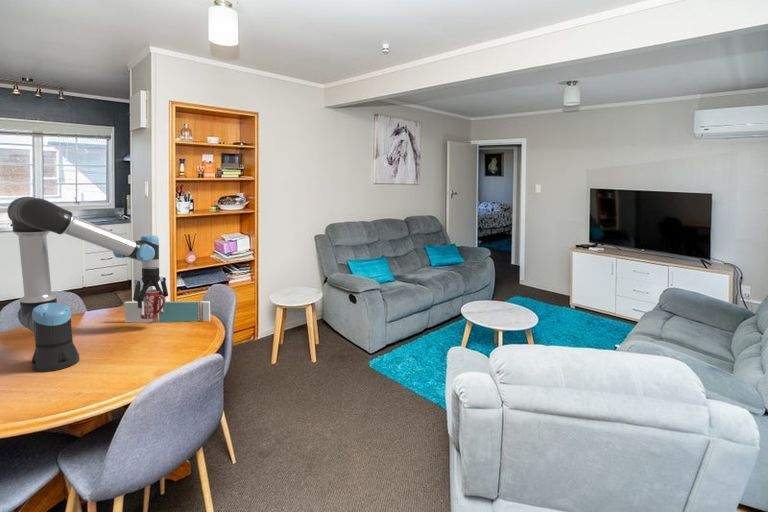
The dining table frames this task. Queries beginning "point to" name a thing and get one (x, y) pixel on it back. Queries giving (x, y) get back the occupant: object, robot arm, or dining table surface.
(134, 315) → the wall frame
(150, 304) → the mug
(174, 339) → the dining table surface
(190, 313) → the door
